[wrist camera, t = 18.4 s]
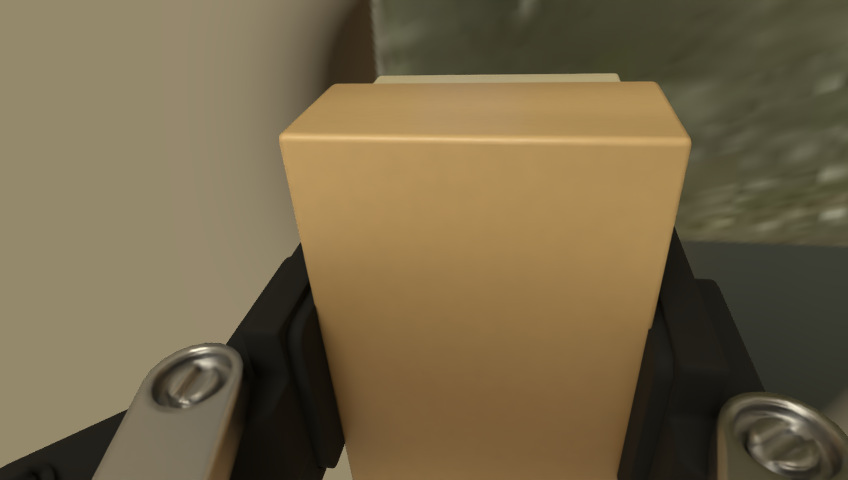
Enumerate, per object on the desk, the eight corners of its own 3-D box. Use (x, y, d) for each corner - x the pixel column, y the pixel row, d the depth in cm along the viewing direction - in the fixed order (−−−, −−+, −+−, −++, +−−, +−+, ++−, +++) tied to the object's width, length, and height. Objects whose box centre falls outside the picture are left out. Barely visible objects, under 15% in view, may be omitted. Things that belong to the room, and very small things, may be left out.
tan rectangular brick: (358, 56, 9) (274, 134, 6) (641, 51, 8) (695, 139, 5) (400, 393, 13) (361, 529, 10) (587, 412, 12) (601, 566, 10)
